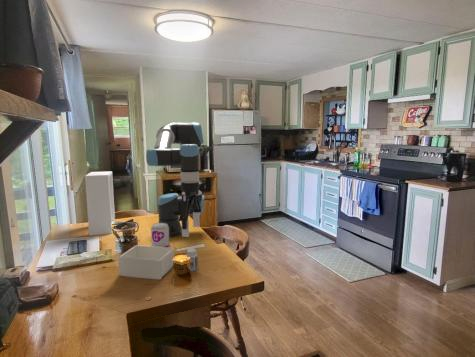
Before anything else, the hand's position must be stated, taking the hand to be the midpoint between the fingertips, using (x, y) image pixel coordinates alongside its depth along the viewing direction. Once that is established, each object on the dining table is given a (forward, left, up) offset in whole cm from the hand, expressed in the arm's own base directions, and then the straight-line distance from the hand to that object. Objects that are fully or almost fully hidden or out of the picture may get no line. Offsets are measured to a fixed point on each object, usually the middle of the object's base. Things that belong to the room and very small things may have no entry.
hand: (191, 231), depth 128 cm
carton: (+5, -18, -17) cm, 25 cm away
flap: (+15, -18, -7) cm, 25 cm away
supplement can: (-12, -20, -17) cm, 29 cm away
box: (-45, -74, -17) cm, 88 cm away
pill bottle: (0, 0, -17) cm, 17 cm away
